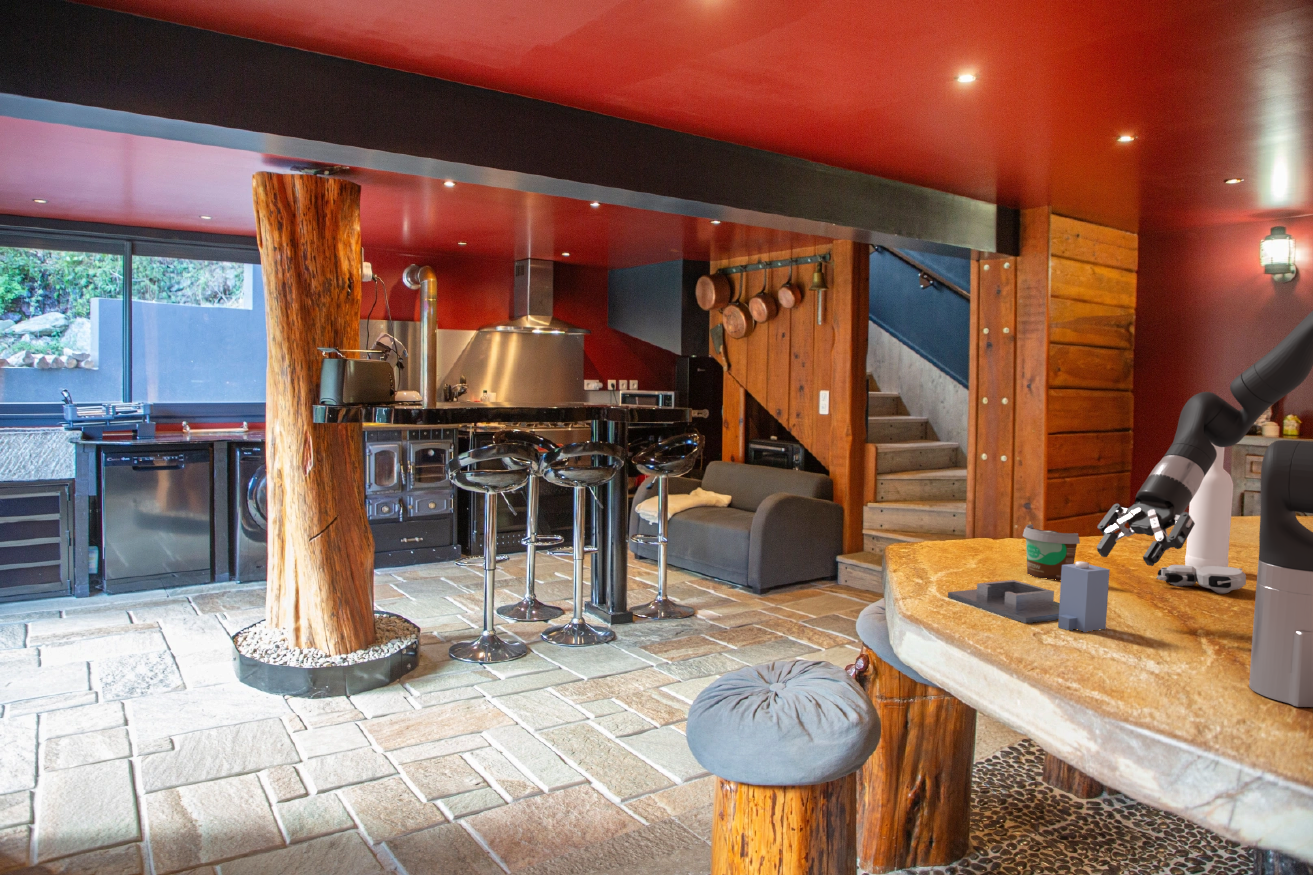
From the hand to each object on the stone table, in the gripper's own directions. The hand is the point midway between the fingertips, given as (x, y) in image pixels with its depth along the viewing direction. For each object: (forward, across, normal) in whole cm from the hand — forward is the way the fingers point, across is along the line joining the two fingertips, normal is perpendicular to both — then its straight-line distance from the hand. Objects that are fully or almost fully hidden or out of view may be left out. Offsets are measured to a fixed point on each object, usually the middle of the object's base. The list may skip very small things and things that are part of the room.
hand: (1123, 558), depth 144 cm
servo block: (+14, 0, -1) cm, 14 cm away
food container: (-3, +30, -18) cm, 36 cm away
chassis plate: (+14, +14, 0) cm, 20 cm away
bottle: (-32, +22, -48) cm, 62 cm away
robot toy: (-20, +12, -36) cm, 43 cm away
